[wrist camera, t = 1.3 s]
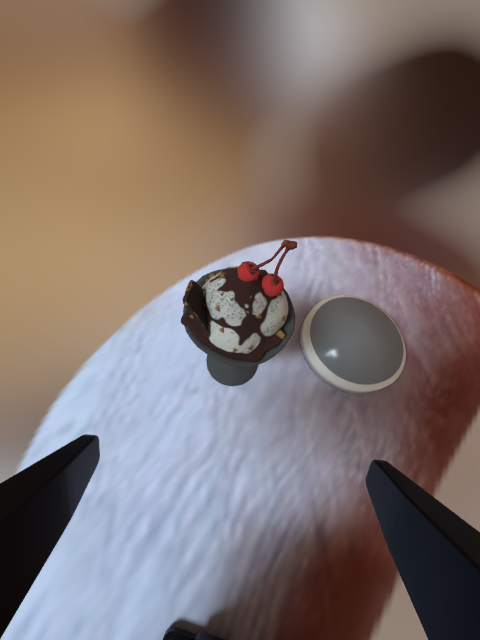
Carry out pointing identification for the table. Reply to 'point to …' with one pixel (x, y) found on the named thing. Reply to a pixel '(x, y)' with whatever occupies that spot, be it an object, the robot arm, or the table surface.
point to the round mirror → (352, 344)
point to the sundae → (239, 318)
